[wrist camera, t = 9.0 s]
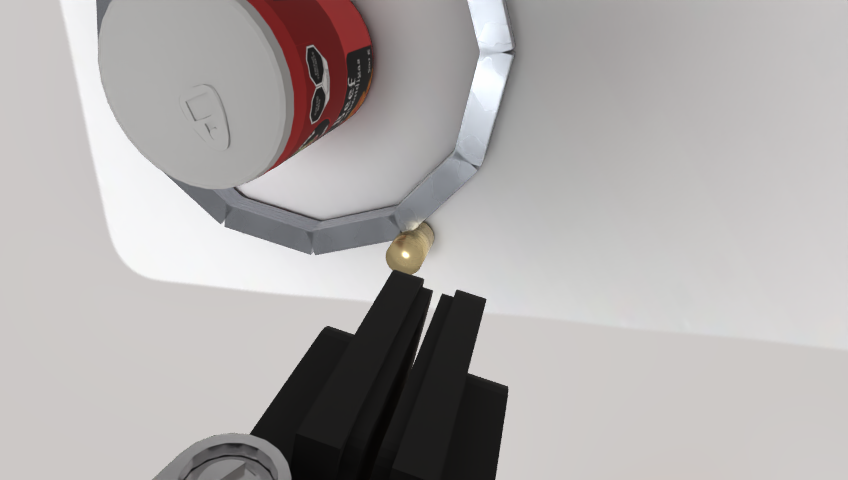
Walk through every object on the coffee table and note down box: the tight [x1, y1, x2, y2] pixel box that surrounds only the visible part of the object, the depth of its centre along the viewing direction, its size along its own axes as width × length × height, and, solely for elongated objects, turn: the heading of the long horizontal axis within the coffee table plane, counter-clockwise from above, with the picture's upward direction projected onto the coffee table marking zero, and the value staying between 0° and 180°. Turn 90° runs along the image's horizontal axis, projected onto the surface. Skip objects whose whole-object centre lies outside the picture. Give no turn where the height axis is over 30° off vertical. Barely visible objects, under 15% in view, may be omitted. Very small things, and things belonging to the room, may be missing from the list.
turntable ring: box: [96, 0, 515, 275], centre depth 29 cm, size 22×22×3 cm
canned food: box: [98, 0, 374, 189], centre depth 26 cm, size 8×8×11 cm
